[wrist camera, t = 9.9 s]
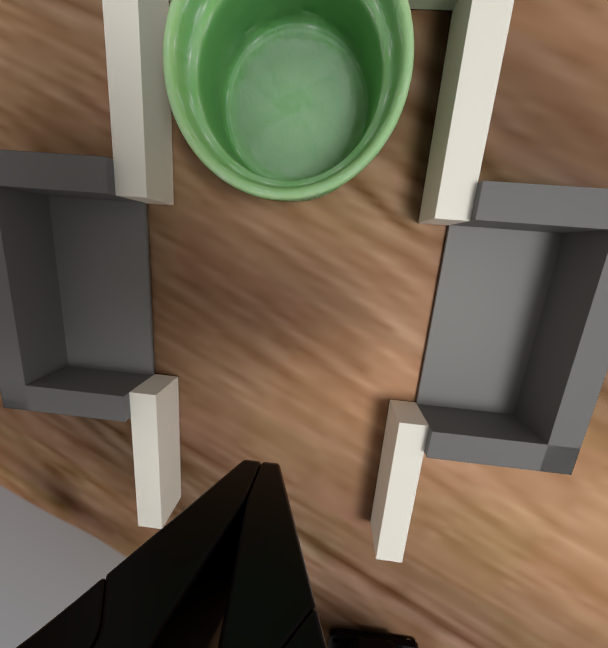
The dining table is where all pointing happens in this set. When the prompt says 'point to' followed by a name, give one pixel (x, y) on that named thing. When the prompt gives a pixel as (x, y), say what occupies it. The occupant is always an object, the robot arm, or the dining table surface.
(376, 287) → the dining table surface
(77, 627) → the robot arm
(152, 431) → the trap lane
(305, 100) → the ramekin
